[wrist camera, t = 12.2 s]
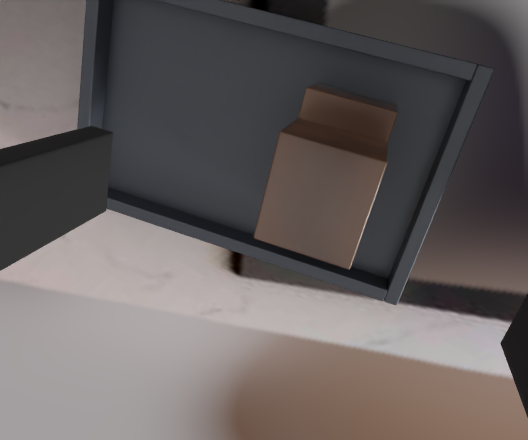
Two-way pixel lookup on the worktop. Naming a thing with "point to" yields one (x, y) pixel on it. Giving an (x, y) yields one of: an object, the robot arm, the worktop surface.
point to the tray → (264, 123)
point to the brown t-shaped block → (326, 174)
